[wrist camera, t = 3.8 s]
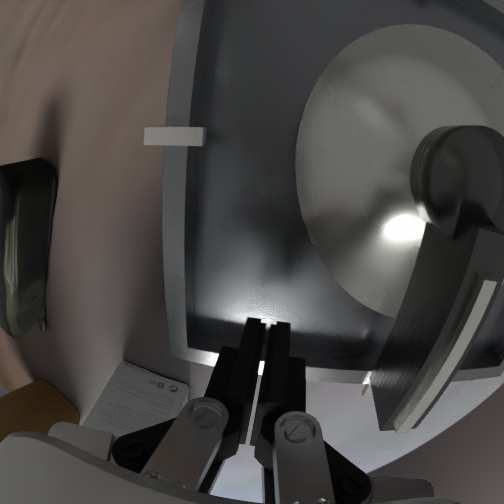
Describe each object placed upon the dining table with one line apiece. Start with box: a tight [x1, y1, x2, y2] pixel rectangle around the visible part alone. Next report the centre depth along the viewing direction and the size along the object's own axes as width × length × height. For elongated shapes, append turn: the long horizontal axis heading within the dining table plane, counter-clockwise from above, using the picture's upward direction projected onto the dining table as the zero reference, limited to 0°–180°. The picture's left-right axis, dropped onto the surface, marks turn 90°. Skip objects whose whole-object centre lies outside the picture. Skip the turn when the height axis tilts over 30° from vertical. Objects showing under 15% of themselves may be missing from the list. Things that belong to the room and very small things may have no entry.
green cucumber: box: [0, 158, 58, 338], centre depth 15 cm, size 5×3×15 cm
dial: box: [295, 24, 504, 433], centre depth 8 cm, size 16×12×6 cm
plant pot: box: [0, 380, 80, 443], centre depth 18 cm, size 15×15×16 cm
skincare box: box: [82, 361, 189, 437], centre depth 13 cm, size 8×6×15 cm
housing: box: [144, 0, 504, 397], centre depth 10 cm, size 23×23×3 cm
